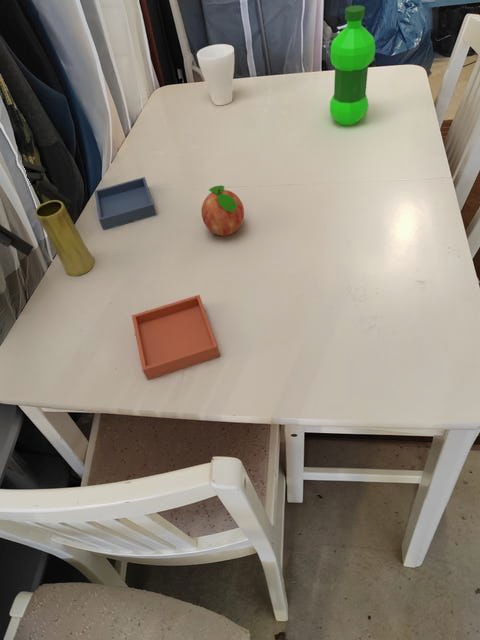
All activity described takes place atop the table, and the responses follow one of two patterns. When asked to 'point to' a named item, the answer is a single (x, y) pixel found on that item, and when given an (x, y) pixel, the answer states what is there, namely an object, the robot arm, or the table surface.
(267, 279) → the table surface
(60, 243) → the vase
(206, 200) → the fruit
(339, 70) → the plastic bottle
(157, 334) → the terracotta tray
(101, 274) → the table surface
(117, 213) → the slate tray
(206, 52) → the cup
